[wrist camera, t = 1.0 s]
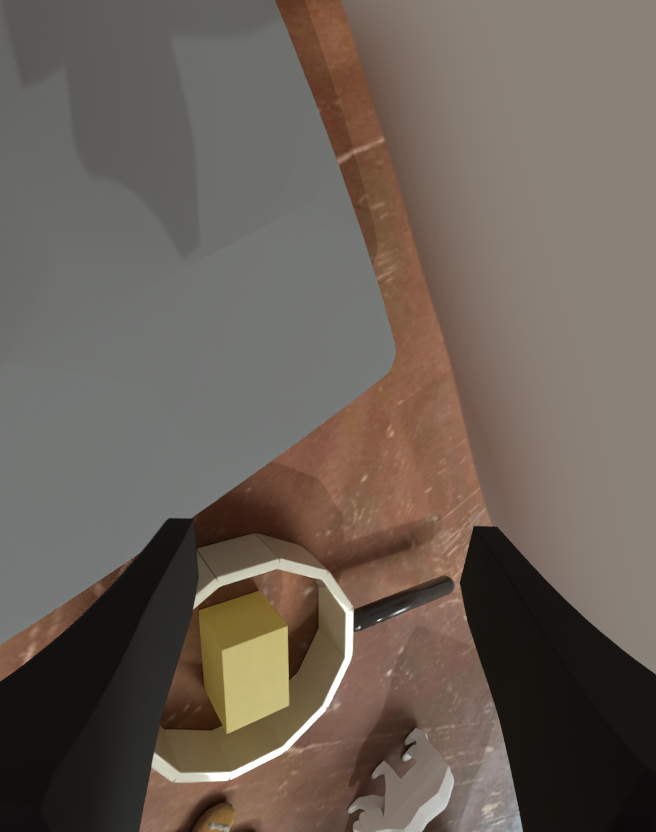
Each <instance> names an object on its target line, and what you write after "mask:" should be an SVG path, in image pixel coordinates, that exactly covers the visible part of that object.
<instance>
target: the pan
mask: <svg viewBox="0 0 656 832" xmlns="http://www.w3.org/2000/svg"><path fill="white" fill-rule="evenodd" d="M196 551H197V561H198V572H199V580H198V585H197V591H196V597H195V602H194V607H193V609H195V608H196V607H197V606H198V605H199V604H200V603H202V602H203V601H204V600H205V599H206V598H207V597H208V596H210V595H211V594H212V593H213V592H214V591H215V590H217V589H218V588H219V587H221V586H224V585H227V584H230V583H233V582H237V581H240V580H243V579H246V578H249V577H253V576H256V575H259V574H262V573H265V572H269V571H272V570H275V569H279V570H283V571H287V572H291V573H296V574H300V575H304V576H308V577H312V578H313V579H314V581H315V582H316V584H317V585H318V612H319V628H318V630H317V633H316V635H315V637H314V639H313V641H312V643H311V645H310V647H309V649H308V652H307V654H306V656H305V658H304V660H303V662H302V664H301V666H300V668H299V670H298V672H297V673H296V674H295V675H294V676H293V677H292V678H291V679H290V680H289V706H287V707H285V708H283V709H281V710H279V711H276V712H274V713H272V714H270V715H268V716H266V717H263V718H261V719H259V720H257V721H255V722H252V723H250V724H248V725H246V726H244V727H242V728H239V729H237V730H235V731H233V732H231V733H228V734H227V733H226V731H225V729H224V727H223V726H221V727H219V728H216V729H214V730H178V729H164V728H162V727H161V726H160V727H159V732H158V737H157V741H156V746H155V751H154V756H153V761H152V766H151V767H152V768H153V769H154V770H156V771H157V772H158V773H160V774H161V775H162V776H164V777H165V778H166V779H168V780H169V781H170V782H173V783H186V782H215V781H228V780H232V779H234V778H236V777H238V776H240V775H242V774H244V773H246V772H248V771H250V770H252V769H254V768H256V767H258V766H260V765H262V764H263V763H265V762H267V761H269V760H271V759H273V758H275V757H277V756H279V755H281V754H283V753H284V751H285V752H286V751H287V750H288V749H289V748H290V747H291V746H292V745H293V744H294V743H295V742H296V741H297V740H298V739H299V738H300V737H301V736H302V735H303V733H304V732H305V731H306V730H307V729H308V728H309V727H310V726H311V725H312V724H313V723H314V722H315V721H316V720H317V719H318V718H319V717H320V716H321V715H322V714H323V713H324V712H325V711H326V710H327V707H329V706H330V704H331V701H332V699H333V697H334V695H335V693H336V691H337V689H338V687H339V685H340V682H341V680H342V678H343V676H344V674H345V672H346V670H347V668H348V666H349V663H350V661H351V659H352V656H353V632H358V631H361V630H363V629H365V628H368V627H370V626H373V625H375V624H378V623H380V622H383V621H385V620H387V619H390V618H392V617H395V616H397V615H400V614H402V613H404V612H407V611H409V610H412V609H414V608H417V607H419V606H421V605H424V604H426V603H429V602H431V601H434V600H436V599H439V598H441V597H443V596H446V595H448V594H450V593H452V591H453V590H454V582H453V580H452V579H451V578H450V577H449V576H440V577H437V578H435V579H432V580H429V581H427V582H424V583H422V584H419V585H416V586H414V587H411V588H409V589H406V590H403V591H401V592H398V593H396V594H393V595H390V596H388V597H385V598H383V599H380V600H377V601H375V602H372V603H370V604H367V605H364V606H362V607H359V608H357V609H354V608H353V605H352V603H351V602H350V601H349V599H348V598H347V596H346V595H345V593H344V592H343V590H342V589H341V587H340V586H339V584H338V583H337V582H336V580H335V579H334V577H333V576H332V574H331V573H330V571H329V570H328V569H326V568H325V567H324V566H323V565H322V564H321V563H320V562H319V561H318V560H317V559H316V558H315V557H313V556H312V555H311V554H310V553H309V552H308V551H307V550H306V549H305V548H304V547H302V546H301V545H297V544H294V543H290V542H287V541H283V540H280V539H276V538H273V537H269V536H266V535H262V534H259V533H256V534H255V533H253V534H249V535H245V536H241V537H238V538H234V539H230V540H227V541H223V542H219V543H215V544H212V545H208V546H204V547H201V548H197V550H196Z"/></svg>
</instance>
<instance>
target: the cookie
mask: <svg viewBox="0 0 656 832" xmlns="http://www.w3.org/2000/svg"><path fill="white" fill-rule="evenodd" d="M234 814H235V811H234V809H233V807H232V805H231V804H228V803H219V804H217V805H215V806H213V807H211V808H209V809H208V810H207V811H206V812H205V813H204V814H203V815H202V816H201V817H200V818H199V820H198V821H197V823H196V824H195V826H194V828H193V829H192V831H191V832H229V830H230V828H231V826H232V823H233V820H234Z"/></svg>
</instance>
